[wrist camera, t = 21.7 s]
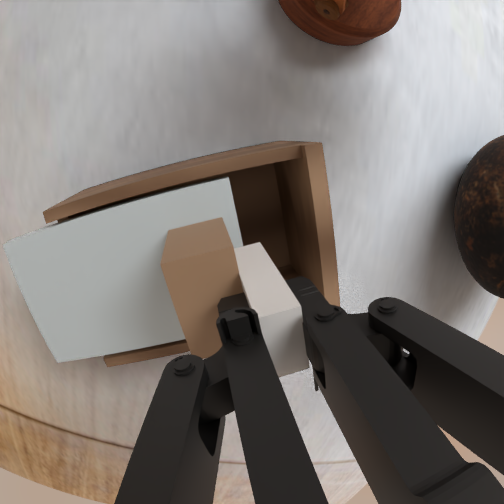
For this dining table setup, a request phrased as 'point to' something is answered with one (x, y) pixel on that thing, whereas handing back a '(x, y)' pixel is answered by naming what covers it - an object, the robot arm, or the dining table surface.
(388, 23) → the wooden bird figurine
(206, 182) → the lid
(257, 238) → the box
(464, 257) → the glass bottle
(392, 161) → the dining table surface
